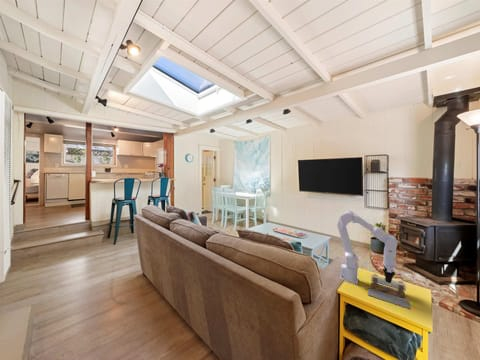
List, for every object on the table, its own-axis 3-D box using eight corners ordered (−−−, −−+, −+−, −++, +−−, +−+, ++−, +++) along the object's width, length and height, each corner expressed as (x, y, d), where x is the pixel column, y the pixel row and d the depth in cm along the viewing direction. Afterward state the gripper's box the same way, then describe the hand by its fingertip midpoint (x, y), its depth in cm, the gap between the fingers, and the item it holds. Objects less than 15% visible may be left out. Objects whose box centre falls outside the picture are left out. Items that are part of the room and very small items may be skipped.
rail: (371, 281, 120) (371, 276, 120) (371, 279, 123) (371, 274, 123) (405, 291, 111) (405, 286, 111) (404, 288, 113) (405, 283, 113)
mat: (367, 295, 112) (367, 294, 112) (368, 288, 119) (368, 287, 119) (409, 309, 102) (409, 308, 102) (407, 300, 108) (407, 300, 108)
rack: (370, 287, 119) (371, 277, 119) (371, 283, 124) (371, 273, 124) (405, 298, 110) (406, 287, 110) (404, 293, 115) (405, 282, 114)
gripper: (399, 263, 108) (397, 287, 108) (397, 254, 119) (396, 276, 120) (383, 259, 112) (381, 283, 112) (383, 251, 124) (381, 272, 124)
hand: (388, 279), depth 117 cm, fingers open, 7 cm apart
